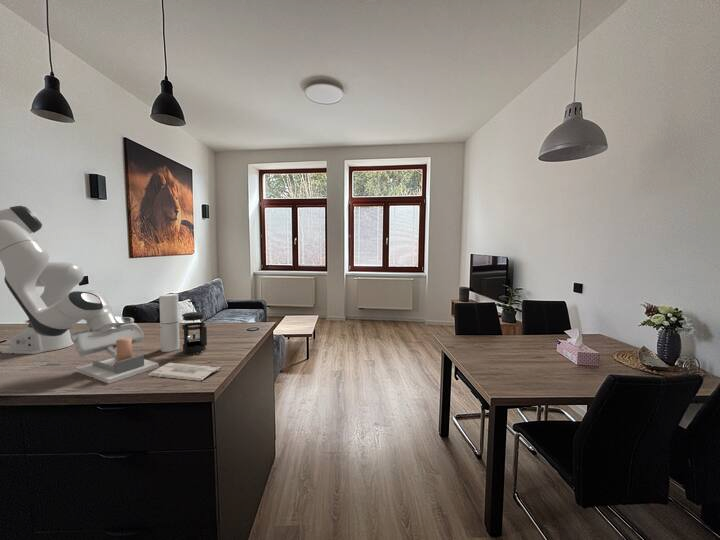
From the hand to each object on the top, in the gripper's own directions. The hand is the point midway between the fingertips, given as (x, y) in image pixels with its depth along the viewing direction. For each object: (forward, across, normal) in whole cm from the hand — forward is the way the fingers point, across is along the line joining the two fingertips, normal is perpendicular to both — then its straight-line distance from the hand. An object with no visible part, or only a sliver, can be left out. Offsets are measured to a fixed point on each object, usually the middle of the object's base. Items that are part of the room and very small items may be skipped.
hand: (119, 356), depth 108 cm
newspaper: (+21, +10, -12) cm, 26 cm away
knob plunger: (+5, 0, +1) cm, 5 cm away
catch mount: (+3, 0, +5) cm, 6 cm away
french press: (+7, +27, +1) cm, 28 cm away
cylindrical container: (-1, +23, +9) cm, 25 cm away
